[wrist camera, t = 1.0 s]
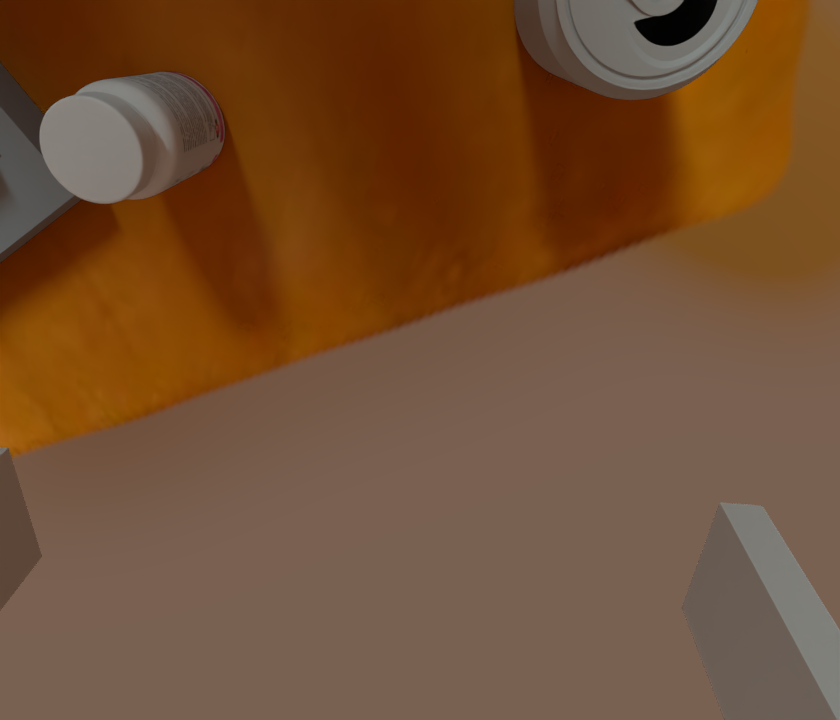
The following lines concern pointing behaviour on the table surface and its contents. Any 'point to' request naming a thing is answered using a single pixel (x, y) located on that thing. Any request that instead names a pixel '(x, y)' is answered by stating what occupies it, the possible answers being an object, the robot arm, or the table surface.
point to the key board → (24, 171)
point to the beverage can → (630, 41)
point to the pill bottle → (131, 136)
